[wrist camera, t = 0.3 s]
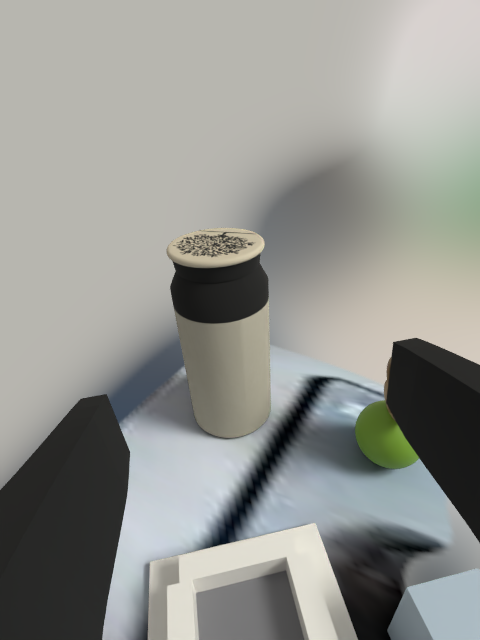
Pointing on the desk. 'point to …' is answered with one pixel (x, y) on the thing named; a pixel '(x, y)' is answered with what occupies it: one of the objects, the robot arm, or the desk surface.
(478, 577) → the plug block
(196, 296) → the travel mug
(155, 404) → the desk surface
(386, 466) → the snail figurine
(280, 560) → the socket plate
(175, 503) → the desk surface
